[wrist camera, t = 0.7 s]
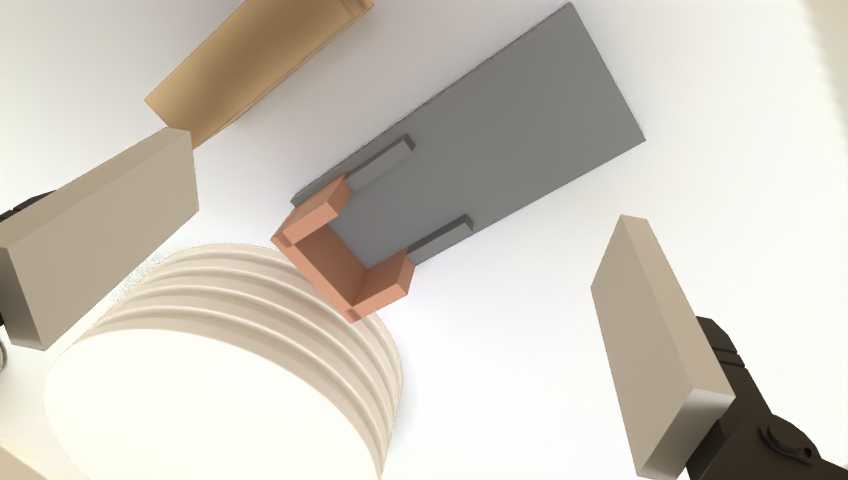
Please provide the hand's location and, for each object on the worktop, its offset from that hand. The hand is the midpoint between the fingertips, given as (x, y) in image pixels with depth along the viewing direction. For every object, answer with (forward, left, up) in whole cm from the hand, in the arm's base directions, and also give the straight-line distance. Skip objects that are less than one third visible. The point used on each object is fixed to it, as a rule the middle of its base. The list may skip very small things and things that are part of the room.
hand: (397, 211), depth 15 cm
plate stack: (+13, -32, -21) cm, 41 cm away
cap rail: (+6, -4, -21) cm, 22 cm away
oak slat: (-8, -9, -21) cm, 24 cm away
